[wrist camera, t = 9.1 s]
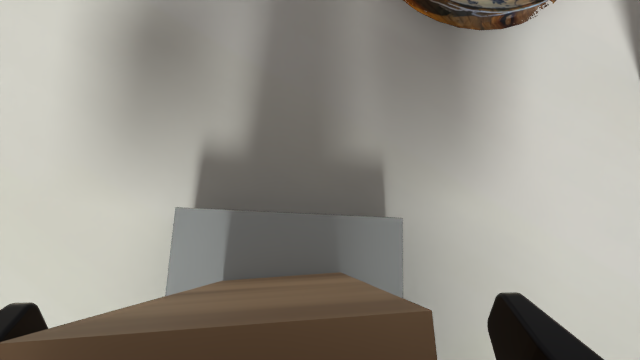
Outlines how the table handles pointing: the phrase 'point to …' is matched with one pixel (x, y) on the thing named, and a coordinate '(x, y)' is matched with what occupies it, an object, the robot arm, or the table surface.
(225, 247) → the grey base block
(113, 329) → the walnut pillar
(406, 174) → the table surface
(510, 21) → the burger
